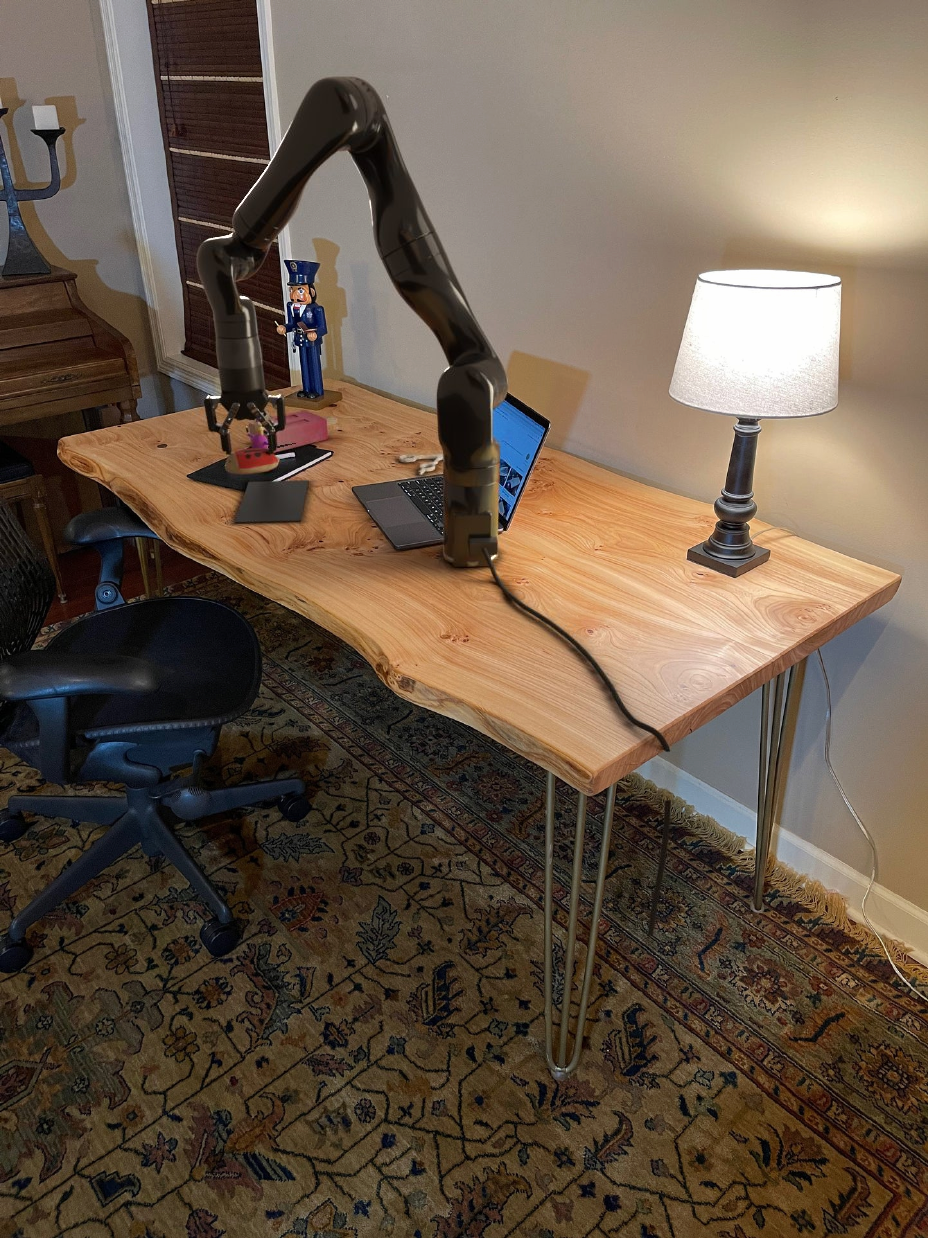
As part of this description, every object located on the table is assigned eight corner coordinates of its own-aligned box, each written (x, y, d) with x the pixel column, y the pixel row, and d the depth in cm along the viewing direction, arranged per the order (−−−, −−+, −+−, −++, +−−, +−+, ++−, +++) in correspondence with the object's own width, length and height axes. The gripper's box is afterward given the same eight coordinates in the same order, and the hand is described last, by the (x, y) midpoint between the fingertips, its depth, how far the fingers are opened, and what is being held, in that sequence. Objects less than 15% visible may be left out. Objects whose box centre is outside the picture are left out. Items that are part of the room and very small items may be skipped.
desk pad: (300, 521, 166) (300, 520, 165) (234, 523, 165) (234, 521, 165) (308, 481, 183) (308, 480, 183) (248, 483, 182) (248, 481, 182)
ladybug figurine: (222, 467, 166) (219, 448, 164) (275, 460, 169) (273, 441, 168) (229, 479, 161) (227, 460, 159) (284, 471, 164) (282, 453, 162)
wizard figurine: (283, 476, 185) (277, 419, 179) (269, 480, 184) (263, 422, 178) (256, 461, 193) (249, 406, 187) (242, 465, 191) (235, 409, 185)
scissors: (391, 457, 193) (464, 438, 204) (391, 461, 193) (464, 442, 204) (420, 472, 186) (494, 451, 196) (420, 475, 186) (494, 454, 197)
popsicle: (346, 414, 206) (270, 432, 195) (347, 434, 209) (272, 453, 197) (323, 405, 212) (248, 422, 201) (325, 425, 215) (250, 443, 203)
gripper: (193, 367, 152) (207, 461, 160) (279, 366, 152) (288, 459, 161) (201, 356, 158) (214, 446, 166) (284, 355, 159) (292, 445, 167)
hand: (250, 452), depth 163 cm, fingers closed on ladybug figurine, 7 cm apart
